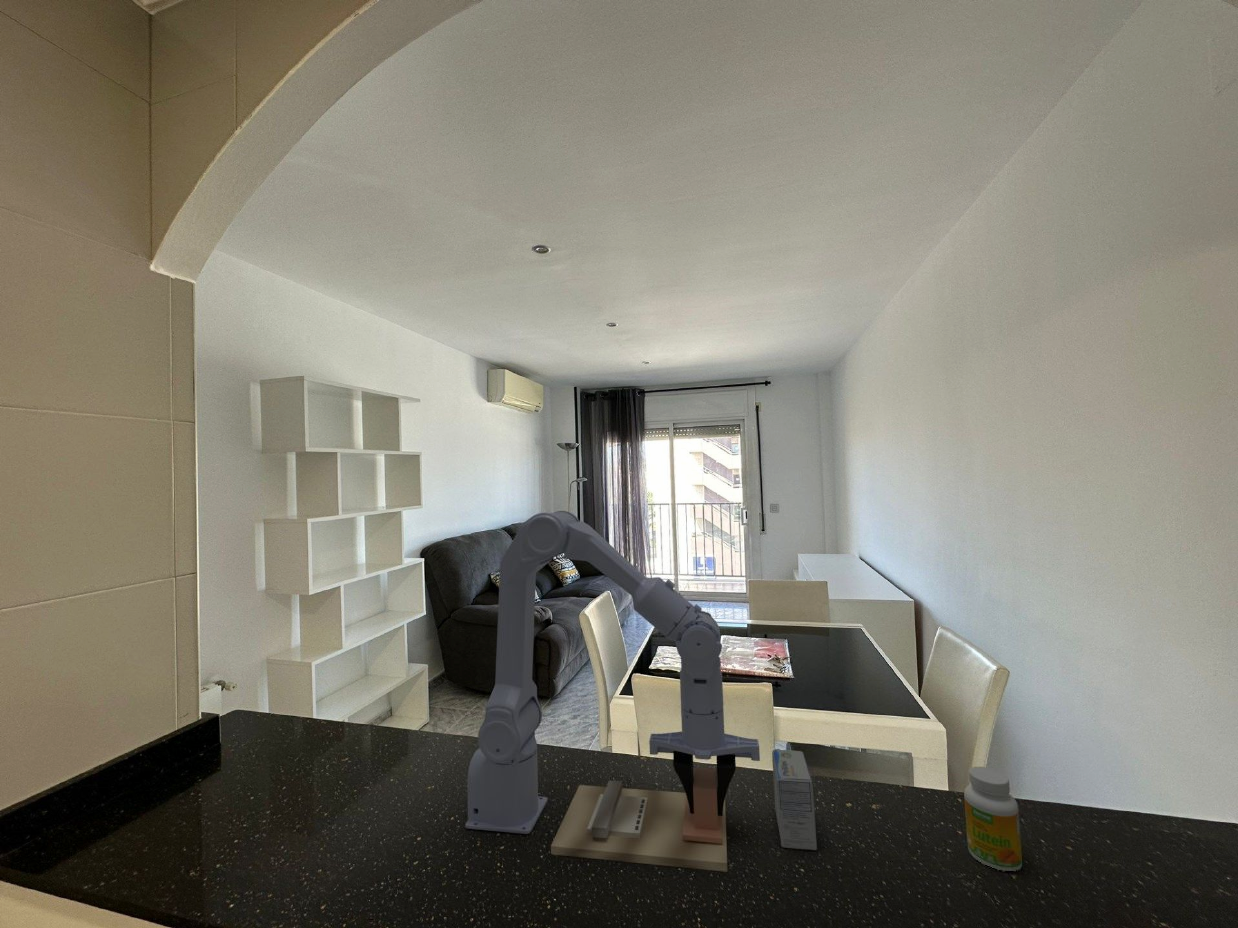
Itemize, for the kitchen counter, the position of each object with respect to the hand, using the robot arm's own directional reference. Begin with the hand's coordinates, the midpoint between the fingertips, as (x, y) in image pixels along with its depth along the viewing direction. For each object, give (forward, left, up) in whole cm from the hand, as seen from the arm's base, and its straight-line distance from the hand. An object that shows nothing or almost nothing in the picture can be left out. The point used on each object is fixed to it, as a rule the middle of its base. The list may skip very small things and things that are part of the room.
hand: (706, 810), depth 69 cm
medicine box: (+11, +2, -3) cm, 12 cm away
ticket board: (-9, 0, -3) cm, 9 cm away
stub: (-1, 0, -1) cm, 2 cm away
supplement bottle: (+34, 0, -3) cm, 35 cm away
